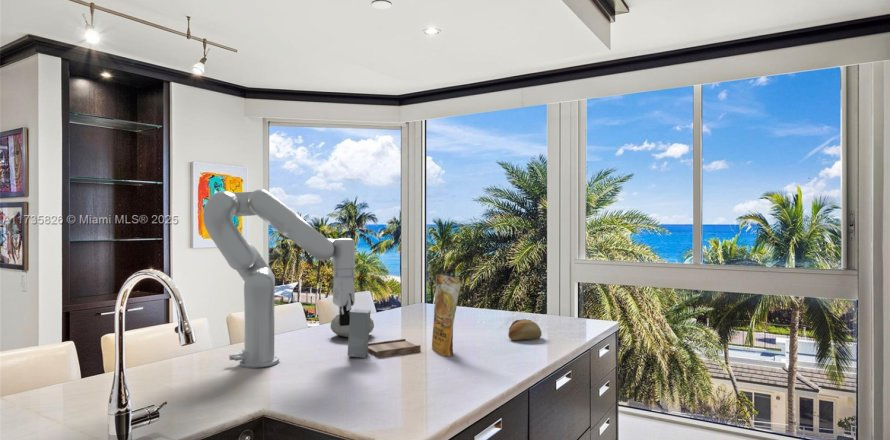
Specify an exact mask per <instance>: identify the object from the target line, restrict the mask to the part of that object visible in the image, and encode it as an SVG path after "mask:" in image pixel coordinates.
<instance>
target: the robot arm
mask: <svg viewBox="0 0 890 440" xmlns="http://www.w3.org/2000/svg"><path fill="white" fill-rule="evenodd" d="M247 216H258V217H259V218H260V219H261V220H263V221H264V222H266V223H267V224H268V225H269V226H271V227H272V228H273V229H275V230H276V231H277V232H279V233H280V234H281V235H283V236H284V237H285V238H287V239H289V240H291V241H292V242H294V243H295V244H296V245H297V246H299V247H300V248H302V250H304V251H305V252H307V253H308V254H309V255H311V256H312V257H313V258H315V259H316V260H318V261H327V260H330V259H331V258H332V261H333V262H332V263H333V269H332V270H333V272H332V273H333V285H332V286H333V287H332V288H333V289H332V303H333V304H334V305H335V306H337V307H338V314H339V325H341V326H347V325H349V323H350V311H352V307H353V306H354V305H355V299H356V298H355V297H356V296H355V293H356V292H355V281H354V278H356V244H355V240H354V238H349V237H347V238H345V237H342V238H327V237H326V236H324V235H323V234H321V232H319V231H318V230H316V229H315V228H314V227H312V226H311V225H310V224H309V223H307V221H305V220H304V219H303V218H302V217H301V216H300V215H299V214H298V213H296V211H294V210H293V209H291V208H290V206H289V207H288V206H287V205H286V204H285V203H284V202H283V201H281V200H279V199H278V198H277V197H275V196H274V195H273V194H272V193H271V192H269V191H267V190H265V189H256V190H253V191H242V192H239V191H238V192H230V191H225V190H223V191H222V190H221V191H217V192H215V193H213V194H212V195H211V196H210V197H209V198H208V200H207V202H206V204H205V206H204V208H203V213H202V218H203V219H202V220H203V224H204V228H205V230H206V232H207V234H208V235H209V237H210V238H211V240H212V241H213V243H214V244H215V245H216V247H217V249H218V250H219V252H220V253H221V255H222V256H223V258H224V259H225V260H226V262H227V264H228V265H229V267H230V268H231V269H232V270H234V271H236V272H237V273H238V274H239V276H240V277H241V279H242V280H243V281H244V283H243V296H244V297H243V298H244V301H243V302H244V349H242V350H241V352H239V353H232V354H229V355H228V359H229V361H235V362H236V361H239V362H238V363H239V366H240V367H243V368H248V369H249V368H250V369H252V368H253V369H256V368H258V369H260V368H267V367H271V366H274V365H277V364H278V363H279V362H280V357H278V356H276V355H275V291H276V290H275V289H276V288H275V287H276V286H275V285H276V278H275V277H276V276H275V274H274V273H273V271H272V270H271V268H270V266H269V264H267V263H266V261H265V259H264V258H263V257H262V255H261V254H260V252H259V251H258V250H257V248H256V247H255V246H254V245H253V244H251V243H249V242H247V240H246V239H245V237H244V236H243V235H242V233H241V231H240V230H239V228H238V227H237V226H236V225H235V223H234V221H233V217H247Z"/></svg>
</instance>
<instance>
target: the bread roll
mask: <svg viewBox="0 0 890 440" xmlns="http://www.w3.org/2000/svg"><path fill="white" fill-rule="evenodd" d="M507 334H508V335H507V336H508V338H509V339H510V340H512V341H520V340H521V341H523V340H538V339H540V338H541V337H542V330H541V327H540V326H539V324H538V323H536V322H535V321H533V320H531V319H525V318H524V319H523V318H522V319H517V320H515V321H513V322H512V324H511V325H510V327H509V328H508V333H507Z"/></svg>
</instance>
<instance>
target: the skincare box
mask: <svg viewBox="0 0 890 440" xmlns="http://www.w3.org/2000/svg"><path fill="white" fill-rule="evenodd" d="M350 311H351V312H350V323H349V338H348V339H347V341H348V342H347V357H353V358H354V357H355V358H362V359H365V358H366V357H367V355H368V354H369V352H368V343H370V342H369V338H370V333H369V326H370V318H371V309H357V308H356V309H351V310H350Z"/></svg>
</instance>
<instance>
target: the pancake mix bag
mask: <svg viewBox="0 0 890 440" xmlns="http://www.w3.org/2000/svg"><path fill="white" fill-rule="evenodd" d="M434 276H435V293H434V307H433V308H434V309H433V311H434V312H433V314H434V315H433V324H432V325H433V327H432V338H431V339H432V340H431V349H432V350H433V351H434V352H435V353H438V354H439V355H440V356H443V357H449V358H450V357H453V356H454V349H453V347H454V342H453V339H454V323H455V316H456V312H457V311H456V310H457V307H458V306H457V305H458V300H459V296H460V293H461V289H462V280H461V279H460V278H458V277H453V276H450V275H447V274H440V273H437V274H435V275H434Z"/></svg>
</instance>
